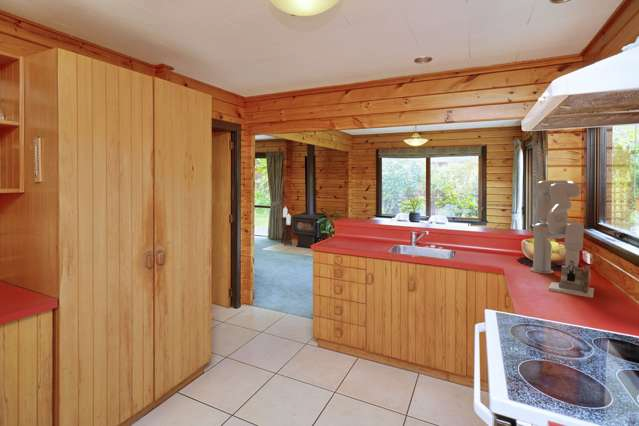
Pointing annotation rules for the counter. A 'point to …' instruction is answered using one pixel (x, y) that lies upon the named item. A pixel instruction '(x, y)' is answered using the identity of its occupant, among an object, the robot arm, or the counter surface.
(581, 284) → the cabinet side
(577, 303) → the counter surface
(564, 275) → the beige rectangular block
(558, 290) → the white tile with rails
